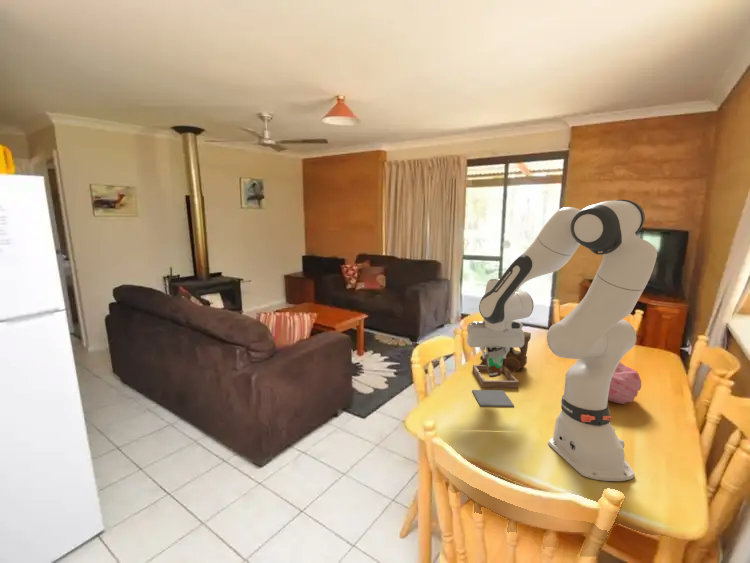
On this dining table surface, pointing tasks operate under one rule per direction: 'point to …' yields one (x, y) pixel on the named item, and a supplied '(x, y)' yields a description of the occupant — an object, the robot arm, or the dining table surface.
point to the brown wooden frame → (488, 384)
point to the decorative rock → (624, 385)
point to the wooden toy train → (515, 356)
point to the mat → (492, 398)
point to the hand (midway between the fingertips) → (494, 358)
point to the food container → (495, 360)
